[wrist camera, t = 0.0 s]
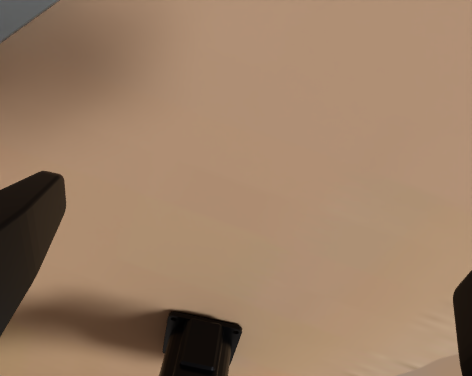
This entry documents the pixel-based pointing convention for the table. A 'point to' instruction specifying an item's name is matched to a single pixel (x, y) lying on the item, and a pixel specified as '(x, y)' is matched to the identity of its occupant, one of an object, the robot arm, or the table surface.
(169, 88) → the table surface
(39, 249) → the robot arm
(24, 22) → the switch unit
